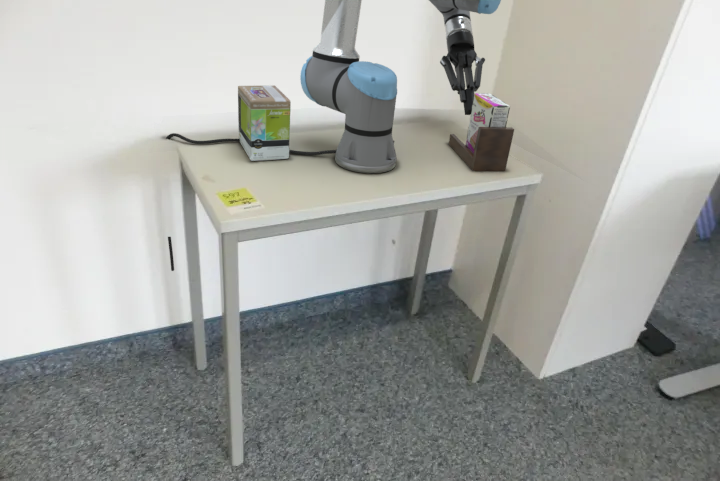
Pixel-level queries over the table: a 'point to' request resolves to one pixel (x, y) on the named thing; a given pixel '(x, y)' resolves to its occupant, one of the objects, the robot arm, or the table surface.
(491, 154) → the book rack
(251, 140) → the tea box
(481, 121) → the candy bar box
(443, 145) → the table surface
